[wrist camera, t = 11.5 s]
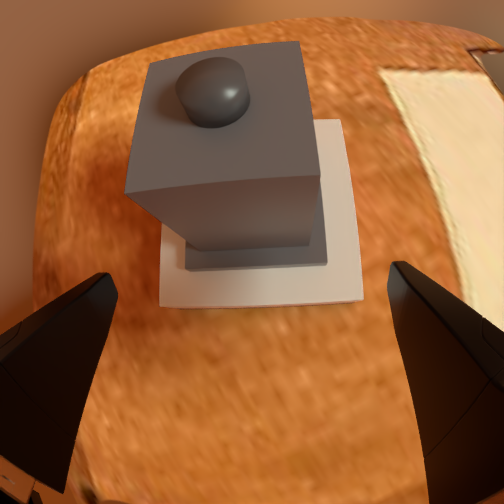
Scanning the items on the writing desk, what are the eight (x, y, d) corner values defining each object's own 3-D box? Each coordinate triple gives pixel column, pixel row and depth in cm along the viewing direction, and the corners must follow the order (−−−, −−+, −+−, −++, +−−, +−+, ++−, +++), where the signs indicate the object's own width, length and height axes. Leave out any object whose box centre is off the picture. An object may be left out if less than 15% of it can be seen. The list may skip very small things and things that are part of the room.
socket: (352, 302, 17) (364, 299, 14) (179, 309, 18) (156, 306, 15) (335, 145, 19) (340, 116, 16) (185, 158, 20) (168, 132, 17)
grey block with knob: (322, 272, 16) (367, 188, 6) (201, 277, 17) (74, 213, 7) (312, 161, 18) (320, 5, 7) (204, 170, 19) (123, 37, 8)
